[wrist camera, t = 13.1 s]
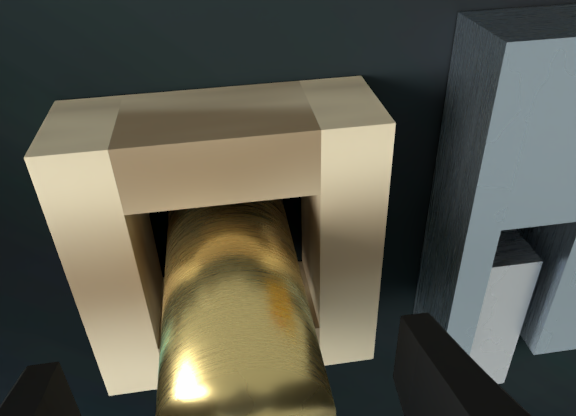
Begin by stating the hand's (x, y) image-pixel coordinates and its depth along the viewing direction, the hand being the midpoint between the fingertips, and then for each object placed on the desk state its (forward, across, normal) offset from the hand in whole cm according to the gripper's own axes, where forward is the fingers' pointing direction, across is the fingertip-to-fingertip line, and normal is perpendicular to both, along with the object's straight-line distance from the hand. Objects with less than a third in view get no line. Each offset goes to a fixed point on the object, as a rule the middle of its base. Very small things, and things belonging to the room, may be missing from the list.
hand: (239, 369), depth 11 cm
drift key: (+6, -9, +5) cm, 12 cm away
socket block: (+6, -11, 0) cm, 12 cm away
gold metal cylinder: (+6, 0, 0) cm, 6 cm away
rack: (+6, 0, 0) cm, 6 cm away
